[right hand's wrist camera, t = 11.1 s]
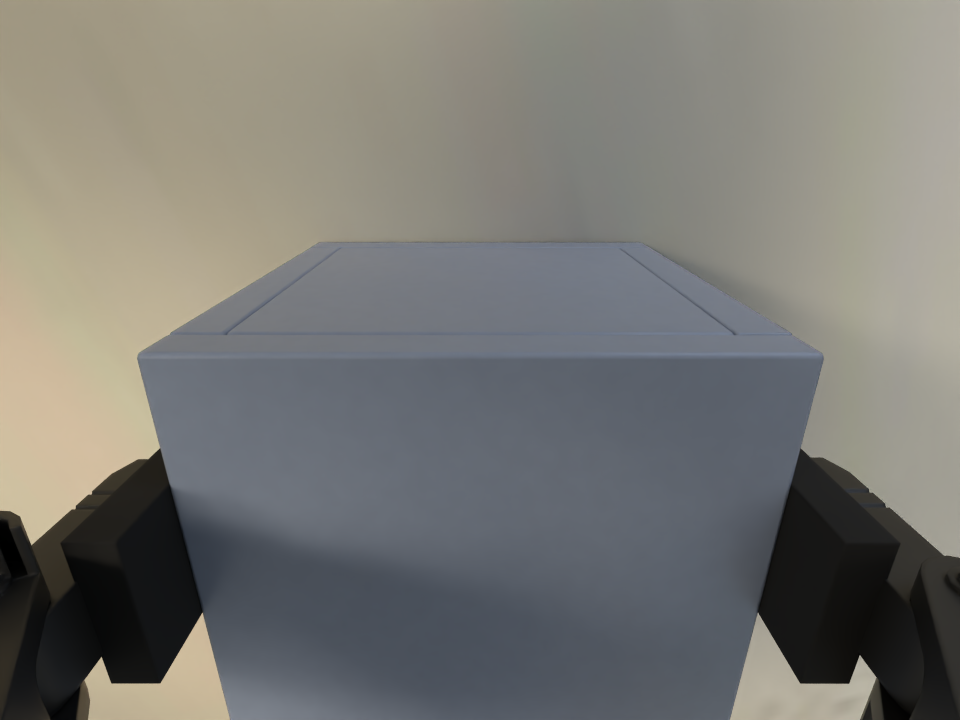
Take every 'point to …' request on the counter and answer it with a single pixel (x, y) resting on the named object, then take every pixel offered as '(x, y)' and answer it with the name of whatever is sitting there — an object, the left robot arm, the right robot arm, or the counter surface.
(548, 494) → the cabinet
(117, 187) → the counter surface
